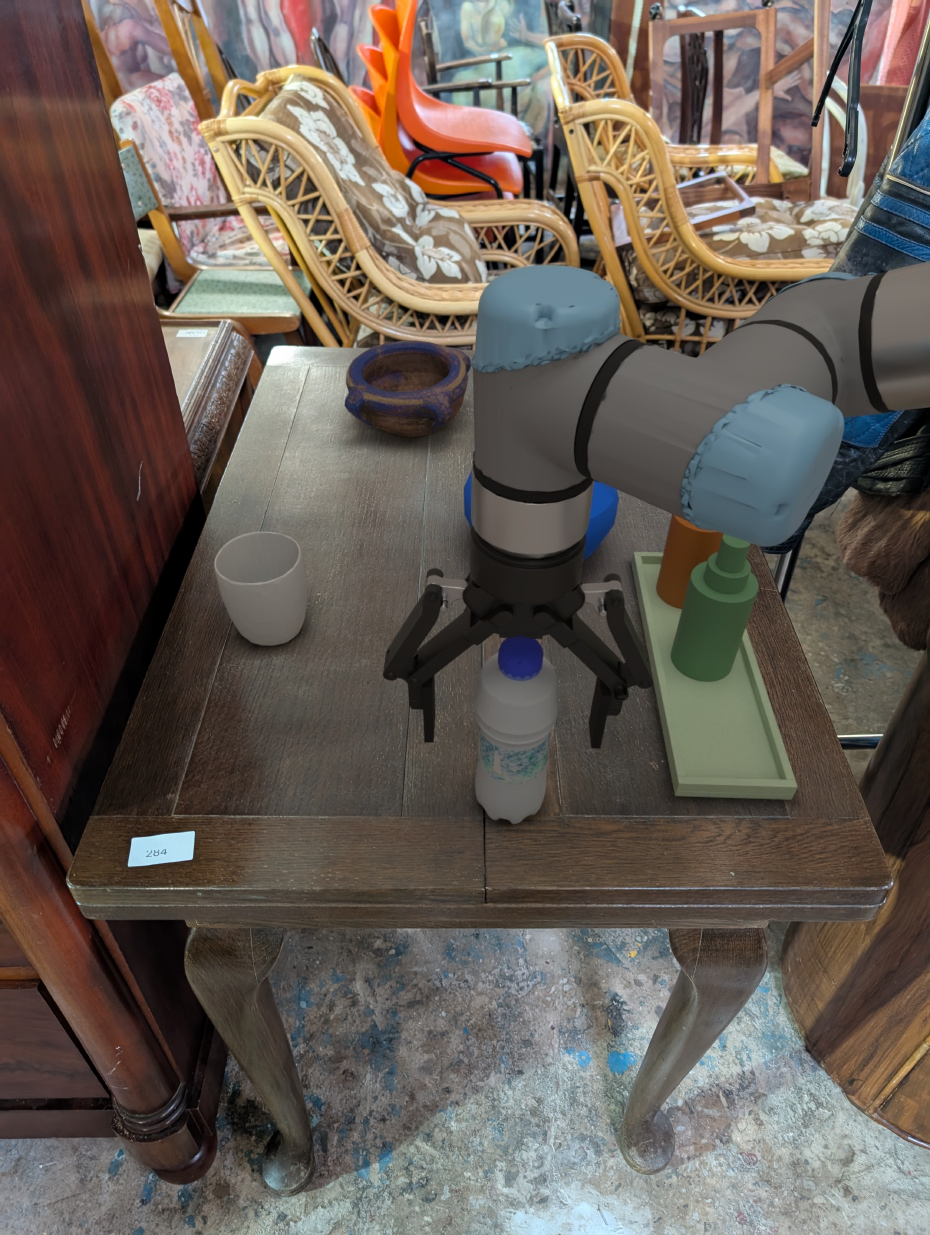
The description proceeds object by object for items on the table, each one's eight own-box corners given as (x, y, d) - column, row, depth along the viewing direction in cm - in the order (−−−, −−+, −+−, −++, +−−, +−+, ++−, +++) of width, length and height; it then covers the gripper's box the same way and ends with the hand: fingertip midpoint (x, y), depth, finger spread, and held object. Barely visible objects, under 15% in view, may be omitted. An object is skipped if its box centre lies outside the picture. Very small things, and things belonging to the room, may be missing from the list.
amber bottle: (720, 607, 90) (756, 488, 79) (666, 612, 90) (694, 493, 79) (700, 571, 95) (731, 455, 84) (648, 576, 94) (673, 459, 83)
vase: (475, 604, 92) (478, 461, 79) (453, 512, 105) (452, 377, 92) (628, 589, 94) (656, 447, 81) (588, 501, 107) (605, 366, 94)
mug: (312, 652, 86) (299, 581, 79) (227, 658, 85) (207, 587, 78) (315, 577, 95) (304, 508, 88) (239, 582, 94) (222, 512, 88)
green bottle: (741, 678, 82) (784, 557, 71) (682, 684, 81) (716, 563, 71) (718, 635, 87) (755, 516, 76) (662, 641, 86) (691, 521, 75)
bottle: (499, 758, 76) (508, 601, 62) (560, 793, 73) (583, 637, 59) (457, 807, 72) (457, 651, 58) (520, 846, 69) (535, 691, 55)
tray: (791, 800, 72) (798, 787, 71) (674, 796, 72) (678, 783, 71) (718, 566, 97) (721, 553, 95) (631, 564, 97) (633, 551, 96)
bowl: (333, 447, 117) (325, 383, 110) (372, 391, 130) (367, 331, 123) (451, 462, 114) (450, 398, 107) (479, 403, 127) (480, 343, 120)
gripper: (712, 497, 54) (656, 703, 68) (344, 486, 54) (367, 693, 69) (736, 568, 48) (670, 775, 63) (326, 555, 49) (355, 764, 63)
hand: (511, 732), depth 66 cm, fingers open, 13 cm apart
